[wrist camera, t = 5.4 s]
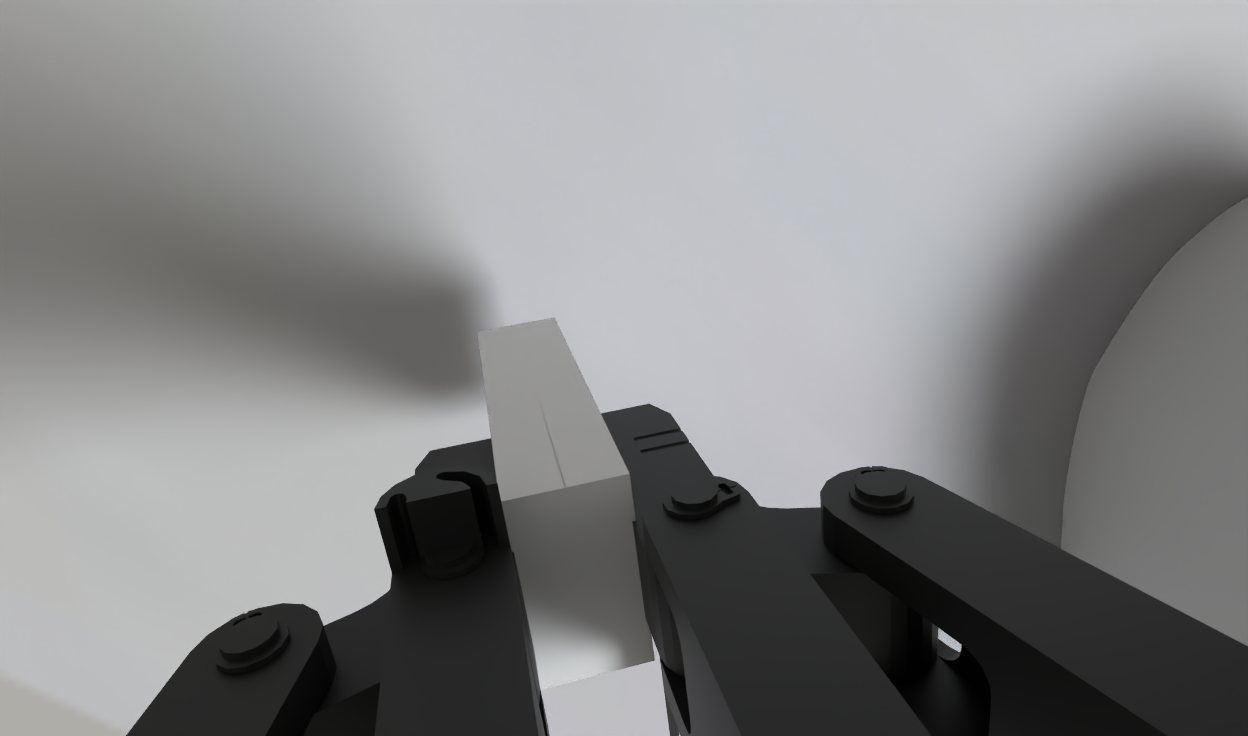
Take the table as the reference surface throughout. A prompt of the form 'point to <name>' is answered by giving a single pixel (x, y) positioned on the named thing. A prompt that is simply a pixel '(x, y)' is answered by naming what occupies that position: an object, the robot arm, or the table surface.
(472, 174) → the table surface
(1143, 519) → the lumpy-topped squat cylinder
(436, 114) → the table surface
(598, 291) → the table surface
